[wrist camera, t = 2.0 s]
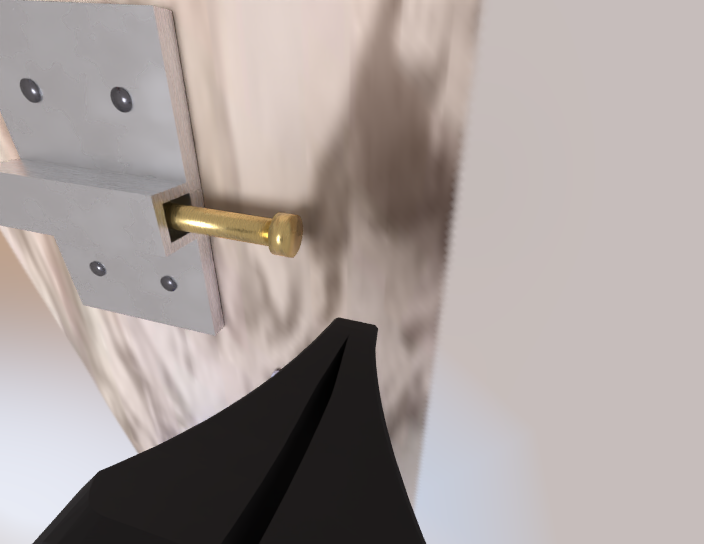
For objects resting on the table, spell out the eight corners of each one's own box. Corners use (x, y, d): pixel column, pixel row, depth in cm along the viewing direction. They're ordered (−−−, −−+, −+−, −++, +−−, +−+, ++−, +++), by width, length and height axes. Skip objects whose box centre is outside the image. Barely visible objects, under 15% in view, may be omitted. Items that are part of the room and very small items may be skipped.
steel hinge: (171, 10, 16) (100, -10, 12) (224, 325, 26) (191, 361, 22) (-21, 2, 18) (-126, -17, 15) (96, 296, 28) (49, 325, 24)
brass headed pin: (302, 209, 18) (285, 224, 16) (302, 246, 19) (286, 264, 17) (104, 179, 20) (68, 189, 18) (115, 214, 21) (82, 227, 19)
